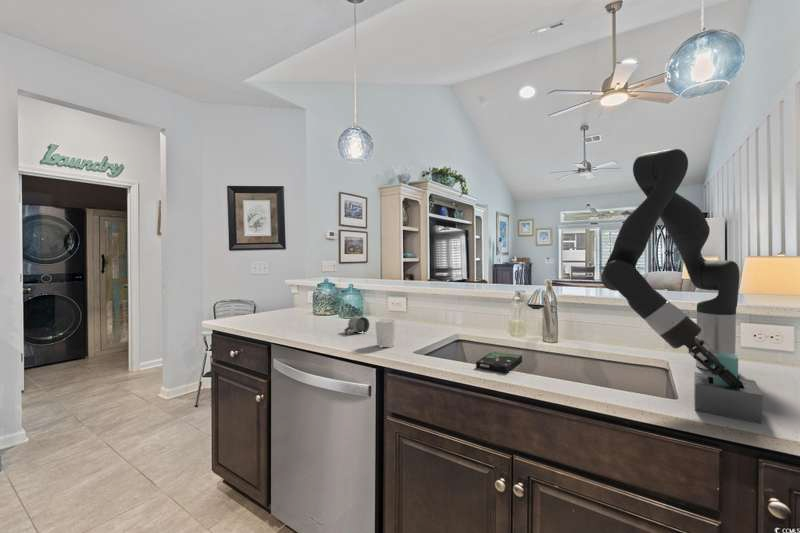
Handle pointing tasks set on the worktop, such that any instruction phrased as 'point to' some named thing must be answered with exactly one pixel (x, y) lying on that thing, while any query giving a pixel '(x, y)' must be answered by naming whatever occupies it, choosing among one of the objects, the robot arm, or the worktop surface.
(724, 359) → the teal peg
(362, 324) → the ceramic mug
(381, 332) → the white cup
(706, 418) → the worktop surface
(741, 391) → the socket block
